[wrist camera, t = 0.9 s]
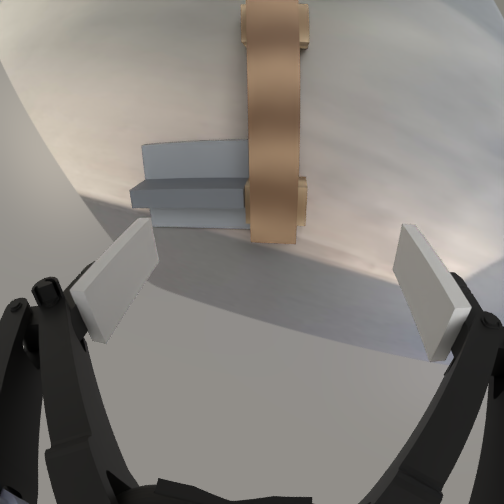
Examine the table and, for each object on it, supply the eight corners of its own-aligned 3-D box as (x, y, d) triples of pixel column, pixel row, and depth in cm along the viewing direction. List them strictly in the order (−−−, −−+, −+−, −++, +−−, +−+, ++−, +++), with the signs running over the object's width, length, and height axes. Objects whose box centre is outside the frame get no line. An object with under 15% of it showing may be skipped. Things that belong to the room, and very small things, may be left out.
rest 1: (246, 14, 24) (240, 4, 20) (306, 14, 23) (308, 4, 20) (247, 48, 26) (241, 42, 22) (307, 48, 25) (309, 42, 21)
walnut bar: (251, 4, 20) (245, -10, 17) (296, 3, 20) (297, -10, 16) (255, 223, 31) (250, 242, 27) (295, 225, 30) (295, 244, 27)
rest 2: (250, 175, 32) (244, 185, 29) (305, 176, 32) (307, 187, 28) (250, 209, 34) (245, 223, 31) (303, 211, 34) (305, 225, 30)
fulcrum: (145, 144, 32) (124, 153, 28) (249, 139, 30) (242, 147, 26) (155, 223, 37) (138, 241, 32) (250, 225, 35) (244, 245, 31)
